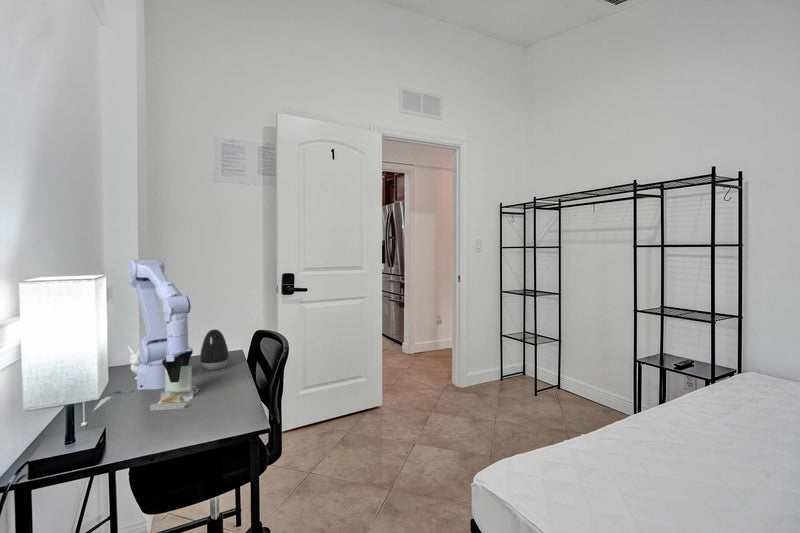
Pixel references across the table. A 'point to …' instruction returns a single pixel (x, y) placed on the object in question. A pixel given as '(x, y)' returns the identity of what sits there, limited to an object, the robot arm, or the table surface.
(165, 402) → the offcut lower
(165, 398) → the offcut upper
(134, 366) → the rabbit
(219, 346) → the black egg shaped speaker
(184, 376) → the pale green rectangular block
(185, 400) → the rack
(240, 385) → the table surface
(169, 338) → the robot arm
